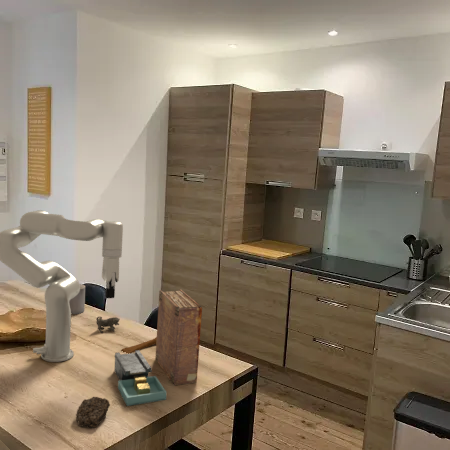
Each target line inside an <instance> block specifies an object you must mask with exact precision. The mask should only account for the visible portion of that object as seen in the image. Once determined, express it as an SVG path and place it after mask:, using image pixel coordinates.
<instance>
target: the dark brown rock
mask: <svg viewBox="0 0 450 450" xmlns="http://www.w3.org/2000/svg"><path fill="white" fill-rule="evenodd" d="M110 406H111V404H110V401H109V400H108V399H107V398H106V397H104V398H102V397H99V396H92V397H91V398H90V397H89V398H87V399H83V400H82V401H81V403H80V404H79V406H78V408H77V410H76V413H75V416H76V417H75V418H76V421H77V423H78V426H80V427H85V428H88V429H93V428H97V426H99V425H100V424H101V422H102V421H103V420H104V419H105V418H106V416H107V413H108V412H109V411H108V410H109V407H110Z"/></svg>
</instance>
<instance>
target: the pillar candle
mask: <svg viewBox="0 0 450 450" xmlns="http://www.w3.org/2000/svg"><path fill="white" fill-rule="evenodd" d="M79 284H80V291H79V293H78V294H77V295H76V296H75V297H74V298H72V299H71V300H70V301H69V305H70V309H71V315H78V314H82V313H84V312H85V308H86V307H85V304H86V285H84V284H82V283H79Z"/></svg>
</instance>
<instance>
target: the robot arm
mask: <svg viewBox="0 0 450 450" xmlns="http://www.w3.org/2000/svg"><path fill="white" fill-rule="evenodd" d="M123 226H124V225H123V223H121V222H120V221H107V220H103V219H101V218H95V219H89V220H87V221H80V220H72V219H67V218H65V216H64V215H63V214H56V213H49V212H47V211H45V210H41V209H40V210H33V211H28V212H25V213H24V214H23V215H22V216H21V218H20V220H19V226H17V227H12V228H9V229H4V230H2V231H0V262H1V263H3V264H4V265H5V266H6V267H8V268H9V269H11V270H12V271H13V272H14V273H16V274H17V275H18V276H19V277H20V278H22V279H23V280H24V281H25V282H27V283H28V284H30V285H31V286H32V287H34V288H36V289H41V288H43V287H46V286H47V288H46V290H45V292H44V301H45V313H46V314H45V317H46V318H45V343H44V344H43V346H41V347H33V348H32V351H33V352H32V353H34V354H35V353H36V355H40V356H41V357H40V358H41V359H42V360H44V361H46V362H50V363H59V362H65V361H68V360H70V359H72V358H73V357H74V355H75V353H74V350H73V349H71V328H72V327H71V323H72V314H71V309H70V305H69V301H70V300H71V299H72V298H74V297H75V296H76V295H77V294H78V293H79V291H80V284H81V283H80V282H79V280H78V279H77V277H75V276H74V275H73V274H71V273H70V272H69V271H67V270H66V269H65V268H64V267H63V266H62V265H60V264H58V263H57V262H55V261H52V260H44V261H41V262H39V261H37V260H36V259H35V258H33V257H32V256H31V255H30V254H28V253H26V252H24V251H22V250H21V249H20V248H23V247H26V246H28V245H30V244H31V243H32V242H33V241H35V240H36V239H37V238H39V236H41V235H46V236H54V237H55V236H56V237H60V238H64V239H66V240H67V239H68V240H74V241H80V242H81V241H82V242H90V241H94V240H96V239H100V238H102V245H101V246H102V249H101V250H102V251H101V257H102V258H103V259H102V267H101V268H102V270H101V278H102V280H103V281H104V282H105V298H106V299H115V295H116V293H115V292H116V288H115V287H116V283H118V282H119V279H120V258H122V256H123V255H122V253H123V251H122V250H123V235H124V234H123V232H124V227H123Z"/></svg>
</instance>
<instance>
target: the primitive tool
mask: <svg viewBox="0 0 450 450" xmlns="http://www.w3.org/2000/svg"><path fill="white" fill-rule="evenodd" d="M156 340H157V336H156V337H154V338H153V339H149V340H148V341H147V340H146V341H145V342H141V343H139V344H134V345H132V346H128V347H124V348H122V349H120V352H122V351H123V352H122V353H124V352H126V353H128V354H129V353H130V354H131V353H132V352H133V353H135V351H137V350H139V351H141V350H143V349H146V348H149V347H151V346H154V345H155V346H156Z"/></svg>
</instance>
